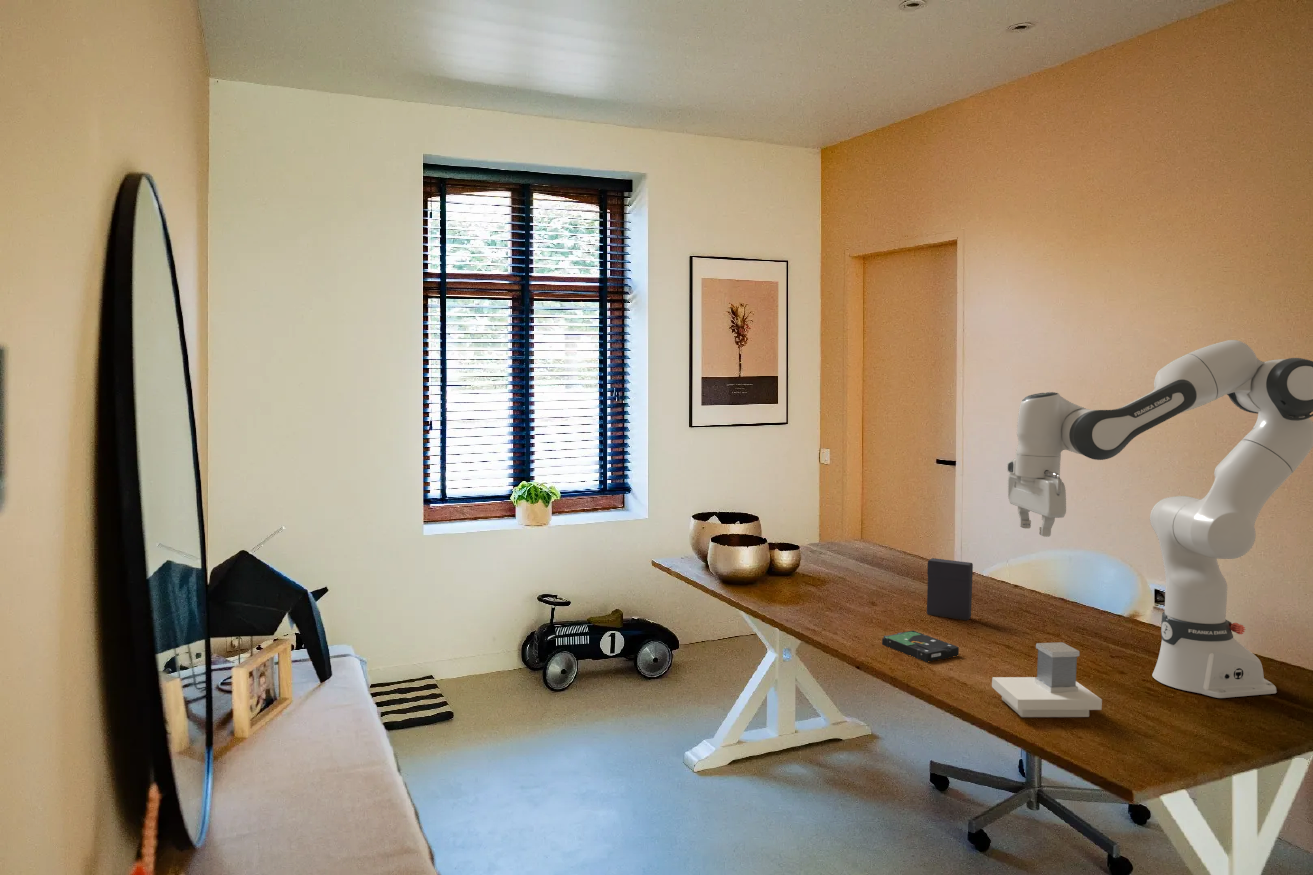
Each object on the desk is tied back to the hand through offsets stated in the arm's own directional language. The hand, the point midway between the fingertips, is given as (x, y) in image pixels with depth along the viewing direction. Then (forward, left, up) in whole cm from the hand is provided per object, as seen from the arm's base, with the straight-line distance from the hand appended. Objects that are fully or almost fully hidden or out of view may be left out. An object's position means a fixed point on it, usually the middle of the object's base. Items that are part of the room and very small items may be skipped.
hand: (1034, 531), depth 189 cm
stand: (+6, +20, -31) cm, 37 cm away
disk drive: (+19, -16, -32) cm, 40 cm away
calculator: (+2, -44, -31) cm, 54 cm away
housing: (+4, +19, -27) cm, 34 cm away
